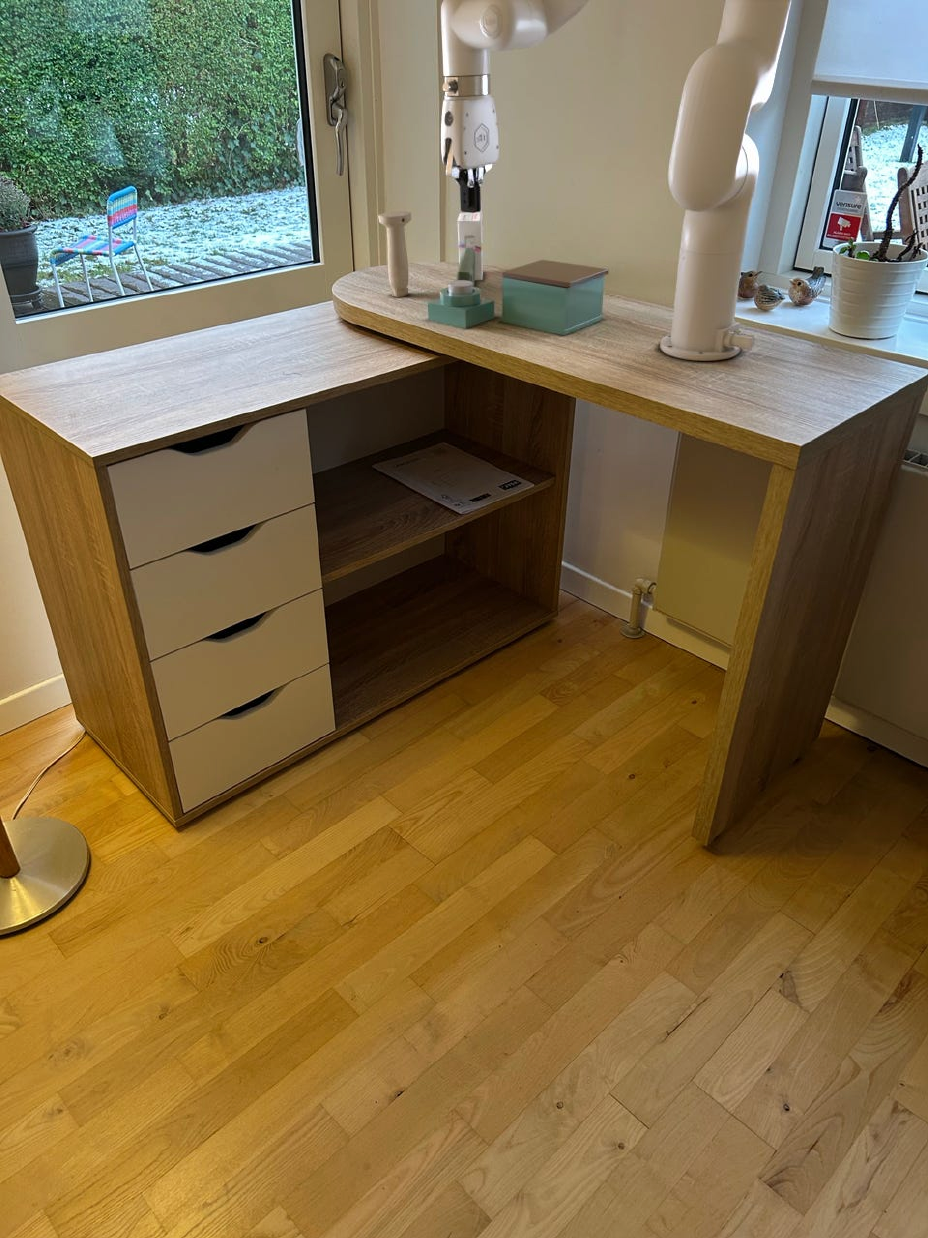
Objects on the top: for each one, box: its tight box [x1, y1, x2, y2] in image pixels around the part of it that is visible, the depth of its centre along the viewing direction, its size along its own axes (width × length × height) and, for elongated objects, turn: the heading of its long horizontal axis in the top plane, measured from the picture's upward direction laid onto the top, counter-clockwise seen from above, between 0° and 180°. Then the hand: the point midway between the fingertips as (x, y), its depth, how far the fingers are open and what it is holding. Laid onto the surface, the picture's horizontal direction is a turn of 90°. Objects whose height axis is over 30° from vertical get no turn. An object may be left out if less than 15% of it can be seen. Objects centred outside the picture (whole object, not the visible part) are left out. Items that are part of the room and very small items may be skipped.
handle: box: [377, 210, 412, 298], centre depth 177 cm, size 5×6×15 cm
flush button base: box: [427, 286, 495, 329], centre depth 164 cm, size 9×8×5 cm
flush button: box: [447, 279, 473, 295], centre depth 163 cm, size 4×4×2 cm
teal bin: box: [501, 275, 605, 336], centre depth 161 cm, size 14×12×8 cm
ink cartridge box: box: [457, 200, 484, 281], centre depth 188 cm, size 9×5×15 cm, turn 177°
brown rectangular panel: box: [502, 259, 609, 288], centre depth 158 cm, size 14×12×1 cm
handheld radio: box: [456, 248, 476, 287], centre depth 181 cm, size 7×3×25 cm
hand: (470, 211), depth 156 cm, fingers closed
